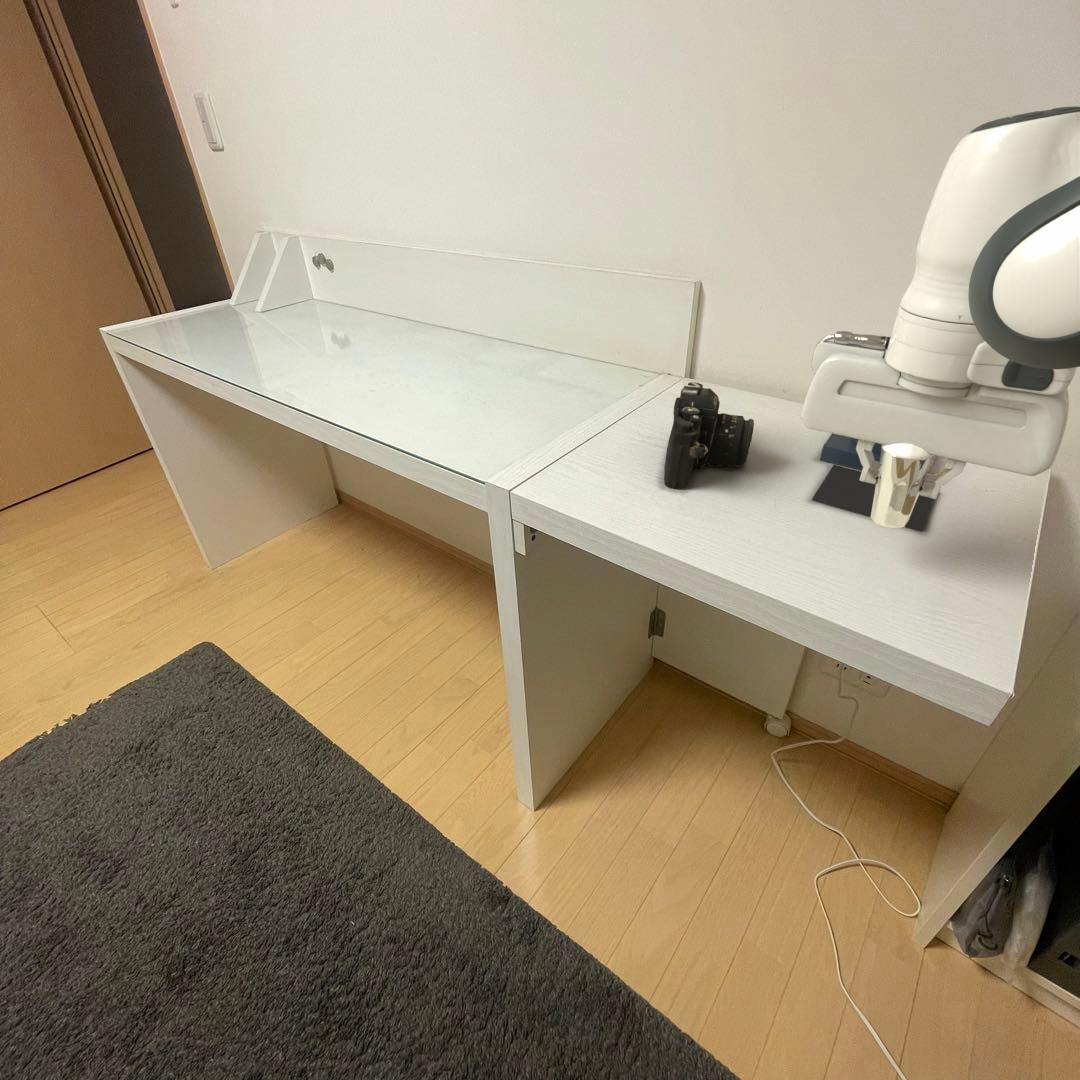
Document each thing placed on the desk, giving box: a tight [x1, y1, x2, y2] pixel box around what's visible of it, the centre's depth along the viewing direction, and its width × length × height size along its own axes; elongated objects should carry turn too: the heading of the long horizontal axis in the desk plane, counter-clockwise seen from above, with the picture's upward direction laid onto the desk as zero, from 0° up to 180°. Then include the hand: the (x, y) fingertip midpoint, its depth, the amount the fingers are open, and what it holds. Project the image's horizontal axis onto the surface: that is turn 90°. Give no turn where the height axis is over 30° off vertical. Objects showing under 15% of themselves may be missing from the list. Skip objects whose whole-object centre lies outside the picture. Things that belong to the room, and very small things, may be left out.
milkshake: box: [870, 444, 936, 530], centre depth 58 cm, size 4×5×10 cm
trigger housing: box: [819, 433, 882, 472], centre depth 82 cm, size 12×10×4 cm
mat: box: [811, 464, 934, 532], centre depth 74 cm, size 12×10×1 cm
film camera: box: [663, 381, 755, 490], centre depth 80 cm, size 18×12×10 cm
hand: (898, 487), depth 59 cm, fingers closed on milkshake, 4 cm apart
